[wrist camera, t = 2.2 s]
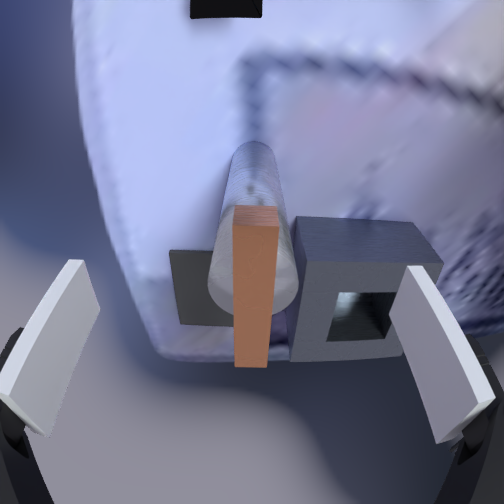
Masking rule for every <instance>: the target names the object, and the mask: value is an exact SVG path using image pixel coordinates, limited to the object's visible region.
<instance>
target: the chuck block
mask: <svg viewBox="0 0 504 504" xmlns="http://www.w3.org/2000/svg"><path fill="white" fill-rule="evenodd" d="M293 252H294V258H295V263H296V269H297V275H298V282H299V284H298V291H297V294H296V296H295V298H294V299H293V301H292V302H291V303H290V304H289V305H288V306H287V307H286V311H285V314H286V324H287V334H288V345H289V355H290V362H311V361H337V360H355V359H370V358H383V357H394V356H401V354H402V353H403V351H404V350H403V347H402V345H401V342H400V340H399V337H398V335H397V333H396V330H395V328H394V325H393V323H392V321H391V318H390V316H389V313H390V310H391V308H392V305H393V303H394V300H395V298H396V295H397V292H398V290H399V287H400V284H401V281H402V279H403V276H404V273H405V270H406V267H407V266H423V268H424V269H425V271H426V272H427V274H428V275H429V277H430V278H431V280H432V282H433V283H434V285H435V284H436V282H437V280H438V277H439V275H440V272H441V270H442V267H443V265H444V263H443V261H442V260H441V258H440V257H439V256H438V254H437V253H436V252H435V250H434V249H433V248H432V246H431V245H430V244H429V242H428V241H427V240H426V239H425V237H424V236H423V235H422V233H421V232H420V231H419V230H418V228H417V227H416V226H415V225H414V223H411V222H397V221H381V220H364V219H346V218H325V217H301V216H297V217H296V227H295V236H294V245H293Z"/></svg>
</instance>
